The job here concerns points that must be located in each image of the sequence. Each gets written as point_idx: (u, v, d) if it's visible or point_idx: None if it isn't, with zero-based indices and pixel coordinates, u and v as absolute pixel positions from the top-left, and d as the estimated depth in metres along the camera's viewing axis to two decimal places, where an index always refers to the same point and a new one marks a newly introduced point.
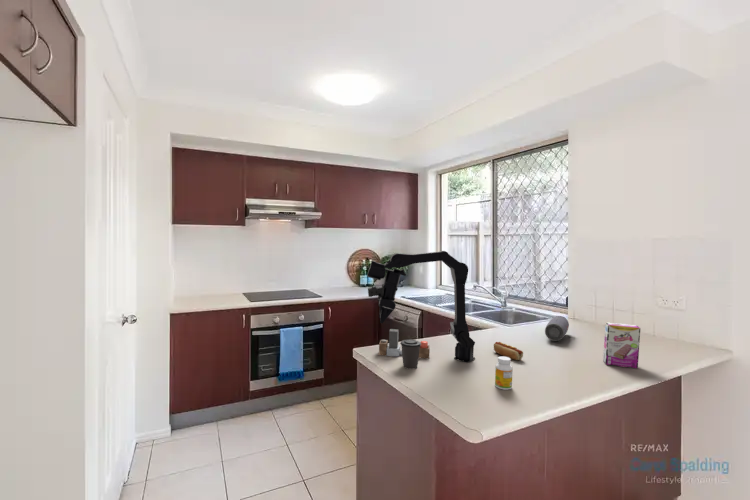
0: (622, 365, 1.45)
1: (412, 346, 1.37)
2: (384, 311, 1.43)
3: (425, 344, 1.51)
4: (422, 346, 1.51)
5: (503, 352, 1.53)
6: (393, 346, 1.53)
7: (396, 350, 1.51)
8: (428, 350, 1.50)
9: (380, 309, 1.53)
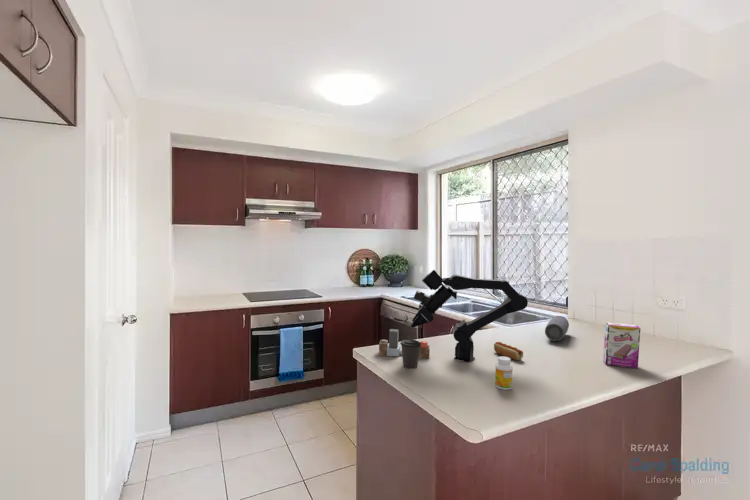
0: (622, 365, 1.45)
1: (412, 346, 1.37)
2: (420, 318, 1.47)
3: (425, 344, 1.51)
4: (422, 346, 1.51)
5: (503, 352, 1.54)
6: (393, 346, 1.53)
7: (396, 350, 1.51)
8: (428, 350, 1.50)
9: (416, 314, 1.57)
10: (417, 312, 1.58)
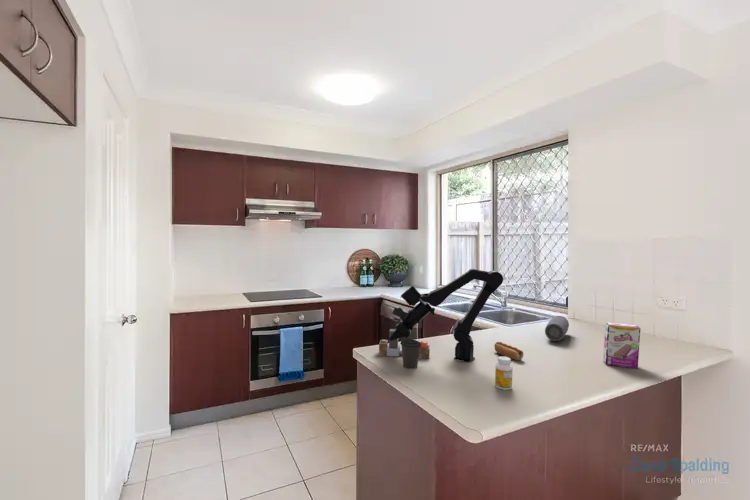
0: (622, 365, 1.45)
1: (412, 346, 1.37)
2: (398, 332, 1.51)
3: (425, 344, 1.51)
4: (422, 346, 1.51)
5: (504, 352, 1.54)
6: (393, 346, 1.53)
7: (396, 350, 1.51)
8: (428, 350, 1.50)
9: None
10: None
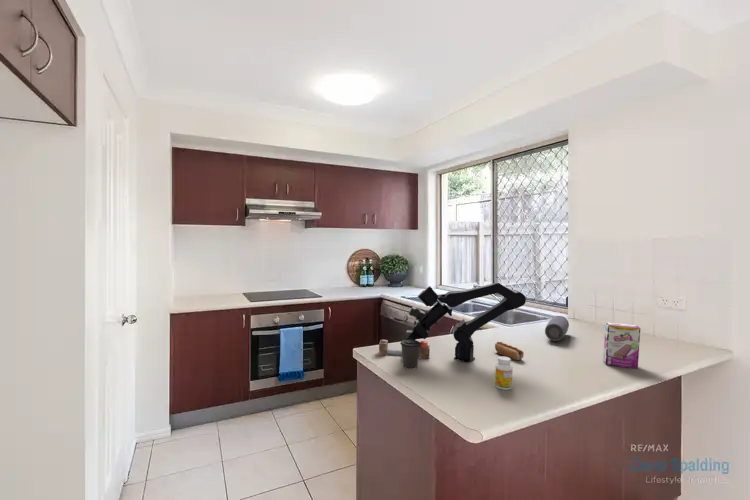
0: (622, 365, 1.45)
1: (412, 346, 1.37)
2: (415, 333, 1.50)
3: (425, 344, 1.51)
4: (422, 346, 1.51)
5: (504, 352, 1.54)
6: None
7: None
8: (428, 350, 1.50)
9: None
10: (412, 329, 1.56)
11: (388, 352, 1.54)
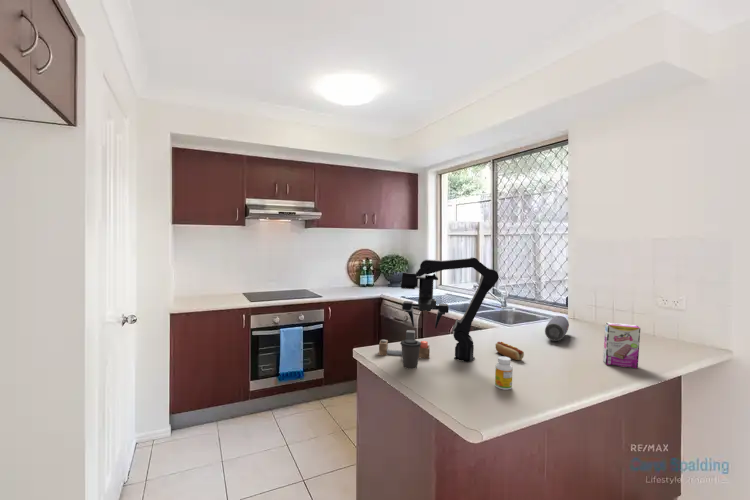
0: (622, 365, 1.45)
1: (412, 346, 1.37)
2: None
3: (425, 344, 1.51)
4: (422, 346, 1.51)
5: (504, 352, 1.54)
6: None
7: None
8: (428, 350, 1.50)
9: (413, 319, 1.52)
10: (412, 317, 1.52)
11: (388, 352, 1.54)
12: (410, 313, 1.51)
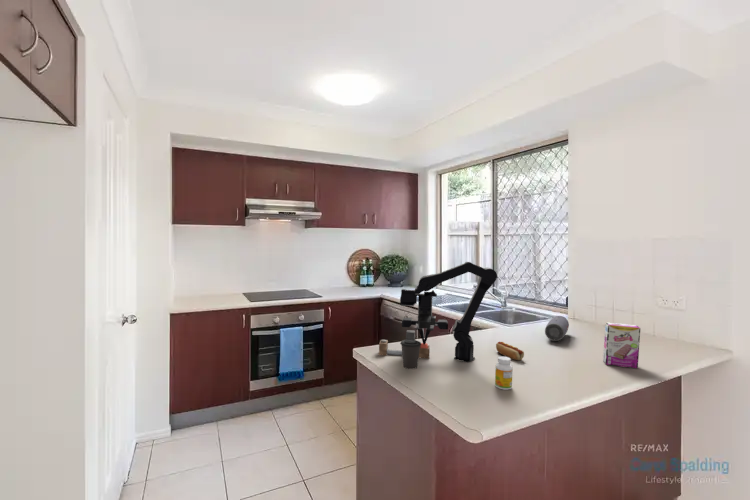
0: (622, 365, 1.45)
1: (412, 346, 1.37)
2: None
3: (425, 346, 1.51)
4: None
5: (504, 352, 1.54)
6: None
7: None
8: (428, 350, 1.50)
9: (423, 336, 1.51)
10: (422, 334, 1.51)
11: (388, 352, 1.54)
12: (420, 331, 1.50)
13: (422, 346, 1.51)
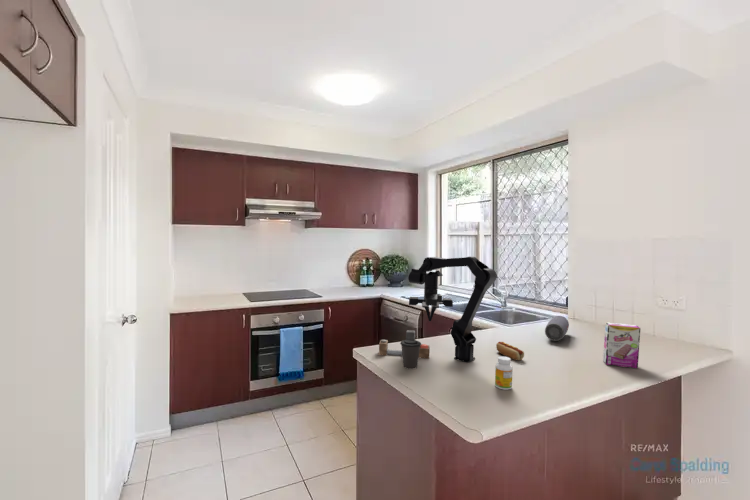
0: (622, 365, 1.45)
1: (412, 346, 1.37)
2: None
3: (425, 347, 1.51)
4: None
5: (505, 352, 1.54)
6: None
7: None
8: (428, 350, 1.50)
9: (429, 313, 1.60)
10: (428, 312, 1.59)
11: (388, 352, 1.54)
12: (427, 308, 1.58)
13: (422, 347, 1.51)
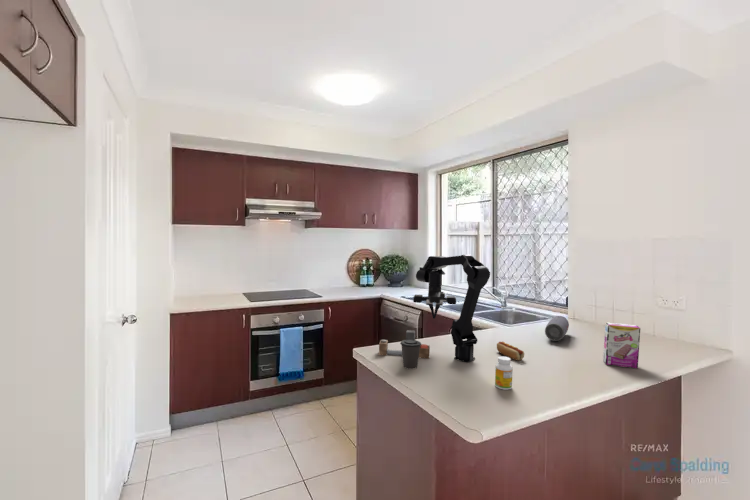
0: (622, 365, 1.45)
1: (412, 346, 1.37)
2: None
3: (425, 347, 1.51)
4: None
5: (505, 352, 1.54)
6: None
7: None
8: (428, 350, 1.50)
9: (433, 311, 1.65)
10: (432, 309, 1.64)
11: (388, 352, 1.54)
12: (431, 306, 1.64)
13: (422, 347, 1.51)
